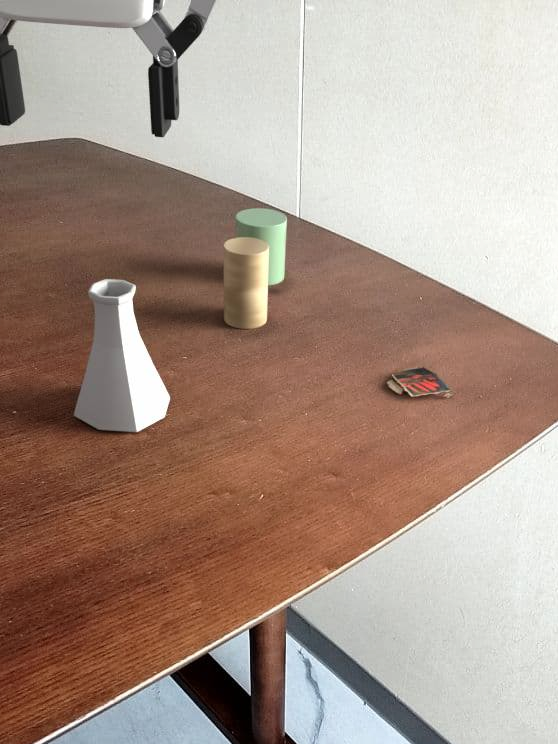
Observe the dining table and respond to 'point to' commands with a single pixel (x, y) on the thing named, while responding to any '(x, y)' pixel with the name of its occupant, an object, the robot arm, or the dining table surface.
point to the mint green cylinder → (266, 236)
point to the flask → (119, 366)
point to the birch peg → (245, 282)
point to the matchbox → (419, 382)
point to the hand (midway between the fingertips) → (87, 125)
